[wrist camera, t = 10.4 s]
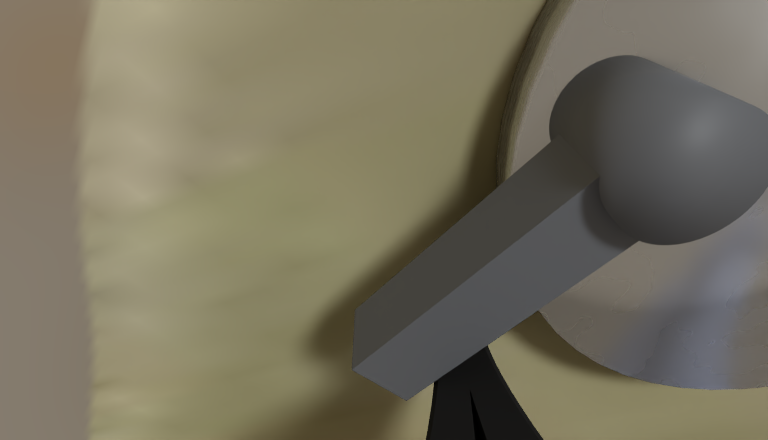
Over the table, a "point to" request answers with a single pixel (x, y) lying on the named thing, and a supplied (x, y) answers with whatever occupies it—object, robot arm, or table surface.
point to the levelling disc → (642, 260)
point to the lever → (569, 215)
